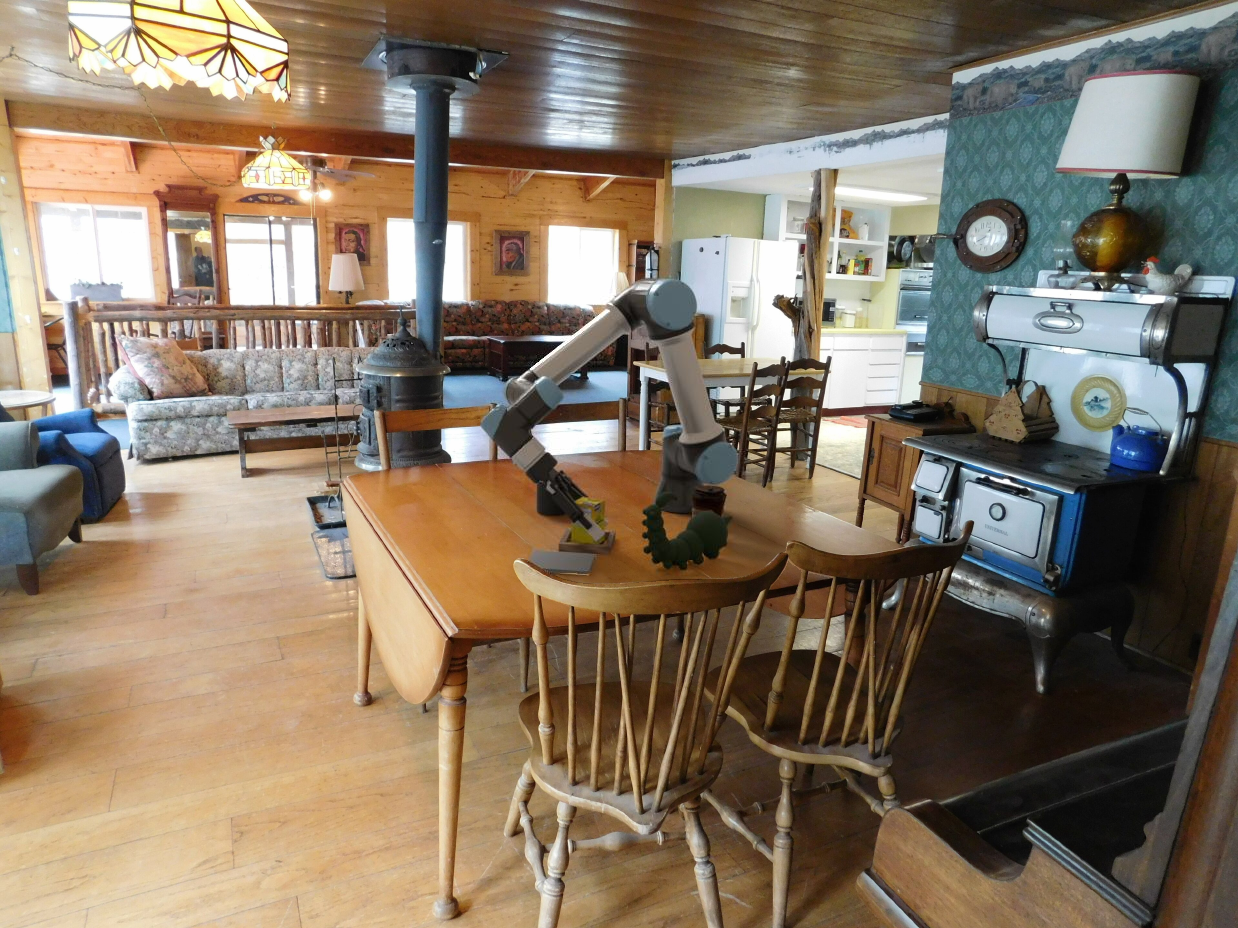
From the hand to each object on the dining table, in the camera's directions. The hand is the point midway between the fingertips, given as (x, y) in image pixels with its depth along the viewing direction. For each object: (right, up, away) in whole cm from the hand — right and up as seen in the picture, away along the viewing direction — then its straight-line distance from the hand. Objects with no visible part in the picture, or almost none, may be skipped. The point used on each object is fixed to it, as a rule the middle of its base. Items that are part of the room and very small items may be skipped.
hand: (602, 531), depth 186 cm
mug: (-13, +3, +27) cm, 30 cm away
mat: (-9, -6, -12) cm, 16 cm away
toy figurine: (+19, -7, -9) cm, 22 cm away
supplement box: (-4, -3, +1) cm, 5 cm away
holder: (-4, -3, +1) cm, 5 cm away
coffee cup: (+25, -3, +8) cm, 27 cm away
